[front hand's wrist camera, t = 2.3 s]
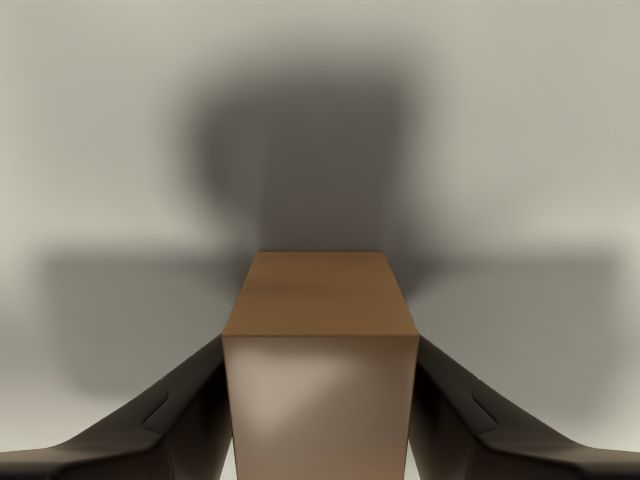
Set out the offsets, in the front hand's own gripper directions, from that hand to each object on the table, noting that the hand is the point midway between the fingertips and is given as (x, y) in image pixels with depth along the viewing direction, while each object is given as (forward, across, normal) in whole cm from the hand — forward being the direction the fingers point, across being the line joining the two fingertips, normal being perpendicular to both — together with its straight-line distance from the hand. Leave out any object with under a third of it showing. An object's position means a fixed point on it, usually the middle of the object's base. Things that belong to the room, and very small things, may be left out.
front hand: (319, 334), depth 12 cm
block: (+1, 0, 0) cm, 1 cm away
